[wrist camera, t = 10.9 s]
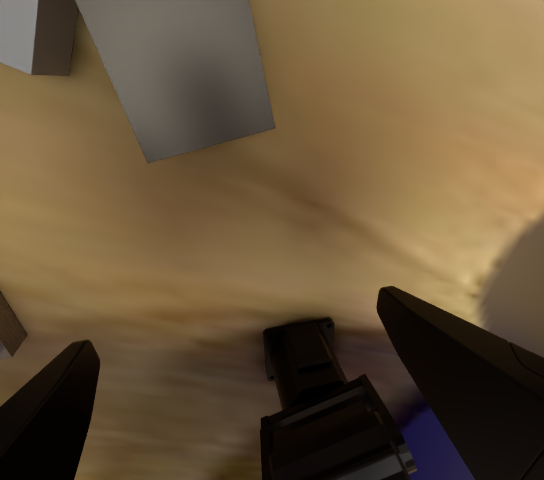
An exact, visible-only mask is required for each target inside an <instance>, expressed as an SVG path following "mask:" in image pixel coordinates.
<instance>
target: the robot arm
mask: <svg viewBox="0 0 544 480" xmlns="http://www.w3.org/2000/svg"><path fill="white" fill-rule="evenodd" d="M377 313H378V315H379V317H380V319H381V321H382V323H383V325H384V327H385V329H386V331H387V334H388V336H389V338H390V340H391V342H392V344H393V346H394V348H395V350H396V352H397V354H398V355H399V357H400V359H401V361H402V362H403V364H404V365H405V367H406V369H407V370H408V372H409V373H410V375H411V377H412V378H413V380H414V382H415V383H416V385H417V386H418V388H419V390H420V391H421V393H422V394H423V396H424V398H425V399H426V401H427V402H428V404H429V406H430V407H431V409H432V411H433V412H434V414H435V415H436V417H437V419H438V420H439V422H440V423H441V425H442V427H443V428H444V430H445V431H446V433H447V435H448V436H449V438H450V439H451V441H452V443H453V444H454V446H455V448H456V449H457V451H458V453H459V454H460V456H461V457H462V459H463V461H464V462H465V464H466V465H467V467H468V469H469V470H470V472H471V473H472V475H473V477H474V478H475V480H544V357H541V356H539V355H537V354H535V353H533V352H531V351H528V350H526V349H524V348H522V347H520V346H518V345H516V344H514V343H512V342H508V341H507V340H505V339H503V338H501V337H499V336H497V335H495V334H493V333H491V332H488V331H486V330H484V329H482V328H480V327H478V326H476V325H474V324H472V323H470V322H468V321H465V320H463V319H461V318H459V317H457V316H455V315H453V314H451V313H449V312H447V311H444V310H442V309H440V308H438V307H436V306H434V305H432V304H430V303H428V302H426V301H423V300H421V299H419V298H417V297H415V296H413V295H411V294H409V293H407V292H405V291H402V290H400V289H398V288H396V287H394V286H387V287H382V288H380V290H379V294H378V300H377ZM268 335H269V336H268ZM263 338H264V350H265V361H266V372H267V379H268V380H269V381H275V382H276V386H277V390H278V394H279V398H280V403H281V407H282V411H280V412H278V413H275V414H273V415H271V416H265V417H263V418H261V430H260V440H261V464H262V480H411V479H410V477H409V475H408V474H410V473H412V472H415V471H416V465H415V463H414V460H413V458H412V455H411V453H410V451H409V449H408V447H407V444H406V443H405V441H404V438H403V436H402V434H401V433H400V431H399V429H398V427H397V425H396V423H395V421H394V420H393V418H392V416H391V415H390V413H389V411H388V410H387V408H386V406H385V405H384V403H383V402H382V400H381V398H380V397H379V395H378V394H377V392H376V390H375V389H374V387H373V386H372V384H371V382H370V381H369V379H368V378H367V376H366V374H363V375H361V376H359V378H357V379H355V380H353V381H350V382H348V381H347V379H346V377H345V375H344V373H343V371H342V369H341V367H340V364H339V362H338V360H337V358H336V356H335V354H334V352H333V338H334V322H333V320H332V319H330V318H327V319H322V320H316V321H311V322H306V323H301V324H295V325H290V326H285V327H279V328H274V329H269V330H266V331H265V332H264V333H263ZM99 370H100V359H99V357H98V354H97V352H96V350H95V348H94V346H93V344H92V342H91V341H90V340H81V341H75V342H73V343H71V344H70V345H69V346H68V347H67V348H65V349H64V350H63V351H62V352H61V353H60V354H59V355H58V356H57V357H55V358H54V359H53V360H52V361H51V362H50V363H49V364H48V365H46V366H45V367H44V368H43V369H42V370H41V371H40V372H39V373H38V374H36V375H35V376H34V377H33V378H32V379H31V380H30V381H29V382H28V383H26V384H25V385H24V386H23V387H22V388H21V389H20V390H19V391H17V392H16V393H15V394H14V395H13V396H12V397H11V398H10V399H9V400H7V401H6V402H5V403H4V404H3V405H2V406H1V407H0V480H74V478H75V475H76V471H77V468H78V464H79V461H80V457H81V454H82V450H83V447H84V443H85V440H86V436H87V432H88V429H89V425H90V421H91V416H92V411H93V405H94V399H95V394H96V388H97V382H98V376H99Z"/></svg>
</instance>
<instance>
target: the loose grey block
mask: <svg viewBox="0 0 544 480" xmlns="http://www.w3.org/2000/svg"><path fill="white" fill-rule="evenodd" d="M75 1H76V3H77V5H78V8H79V10H80V12H81V14H82V17H83V19H84V21H85V23H86V26H87V28H88V30H89V32H90V35H91V37H92V39H93V41H94V44H95V46H96V48H97V50H98V53H99V55H100V57H101V59H102V62H103V64H104V66H105V68H106V71H107V73H108V75H109V77H110V80H111V82H112V84H113V86H114V89H115V91H116V93H117V95H118V98H119V100H120V102H121V104H122V107H123V109H124V111H125V113H126V116H127V118H128V120H129V122H130V125H131V127H132V129H133V131H134V134H135V136H136V138H137V140H138V143H139V145H140V147H141V149H142V152H143V154H144V156H145V158H146V161H147V163H151V162H154V161H158V160H162V159H165V158H169V157H172V156H176V155H180V154H183V153H187V152H191V151H194V150H198V149H202V148H205V147H209V146H212V145H216V144H220V143H223V142H227V141H231V140H234V139H238V138H241V137H245V136H249V135H252V134H256V133H260V132H263V131H267V130H271V129H274V128H275V124H274V119H273V114H272V109H271V105H270V100H269V95H268V90H267V85H266V80H265V75H264V71H263V66H262V61H261V56H260V51H259V46H258V41H257V37H256V32H255V27H254V22H253V17H252V12H251V7H250V3H249V0H75Z"/></svg>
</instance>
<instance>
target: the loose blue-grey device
mask: <svg viewBox="0 0 544 480" xmlns="http://www.w3.org/2000/svg"><path fill="white" fill-rule="evenodd" d="M77 12H78V5H77V3H76V1H75V0H0V63H3V64H5V65H8V66H10V67H13V68H15V69H18V70H20V71H23V72H26V73H28V74H31V75H57V76H69V70H70V63H71V55H72V48H73V41H74V34H75V27H76V19H77Z"/></svg>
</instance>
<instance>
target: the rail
mask: <svg viewBox="0 0 544 480" xmlns="http://www.w3.org/2000/svg"><path fill="white" fill-rule="evenodd" d="M26 336H27V334H26V332H25V331H24V329H23V328H22V326H21V324H20V323H19V321H18V320H17V318H16V316H15V315H14V313H13V312H12V310H11V309H10V307H9V305H8V304H7V302H6V301H5V299H4V297H3V296H2V294H1V293H0V359H5V358H11V357H13V355H14V354H15V352H16V351H17V349H18V348H19V346H20V345H21V344H22V342H23V341H24V339H25V338H26Z"/></svg>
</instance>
